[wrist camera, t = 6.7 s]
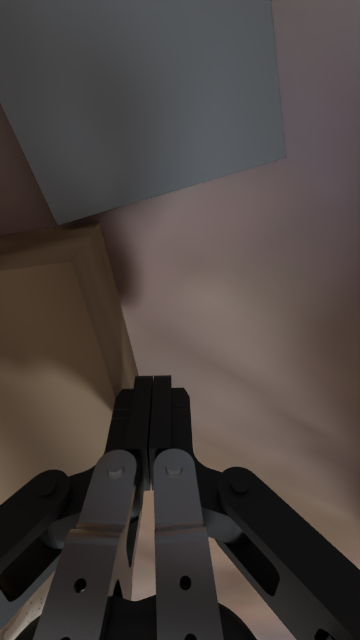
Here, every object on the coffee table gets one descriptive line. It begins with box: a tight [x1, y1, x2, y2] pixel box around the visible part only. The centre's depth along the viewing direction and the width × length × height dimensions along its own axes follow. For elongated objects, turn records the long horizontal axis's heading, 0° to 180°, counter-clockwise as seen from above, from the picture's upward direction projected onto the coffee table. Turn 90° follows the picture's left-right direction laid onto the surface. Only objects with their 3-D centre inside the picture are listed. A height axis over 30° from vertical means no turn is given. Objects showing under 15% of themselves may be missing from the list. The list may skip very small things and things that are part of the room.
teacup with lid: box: [0, 571, 55, 640], centre depth 21 cm, size 12×9×12 cm
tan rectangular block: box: [0, 222, 139, 505], centre depth 15 cm, size 8×12×5 cm, turn 8°
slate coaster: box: [0, 0, 286, 225], centre depth 11 cm, size 9×9×1 cm
